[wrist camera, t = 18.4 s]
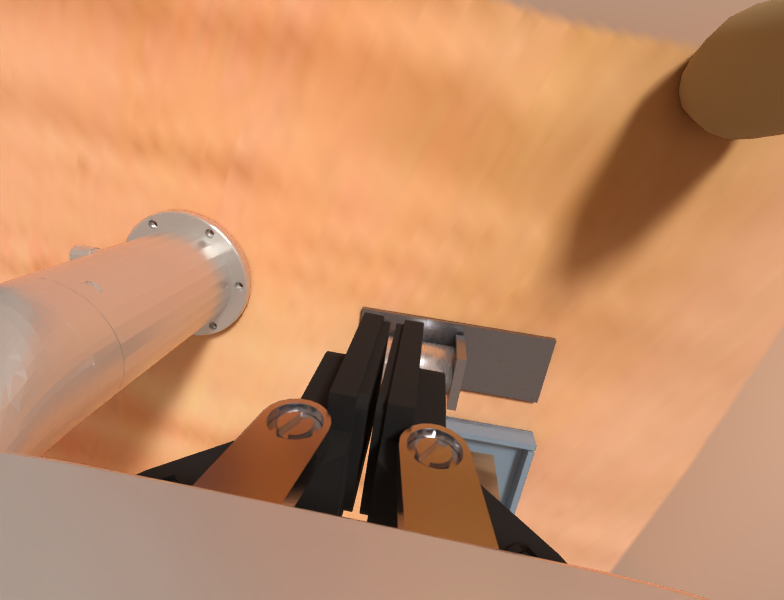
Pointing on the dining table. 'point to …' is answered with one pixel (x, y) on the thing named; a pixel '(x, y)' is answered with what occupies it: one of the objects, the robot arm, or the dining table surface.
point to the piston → (443, 364)
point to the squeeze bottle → (739, 76)
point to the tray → (500, 453)
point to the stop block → (486, 472)
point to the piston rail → (488, 355)
